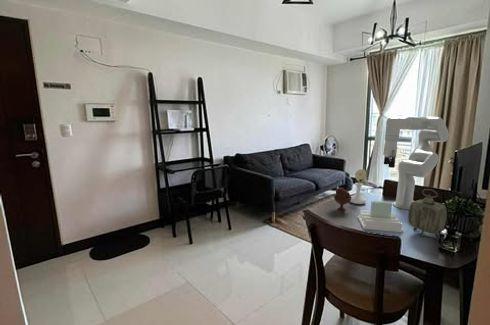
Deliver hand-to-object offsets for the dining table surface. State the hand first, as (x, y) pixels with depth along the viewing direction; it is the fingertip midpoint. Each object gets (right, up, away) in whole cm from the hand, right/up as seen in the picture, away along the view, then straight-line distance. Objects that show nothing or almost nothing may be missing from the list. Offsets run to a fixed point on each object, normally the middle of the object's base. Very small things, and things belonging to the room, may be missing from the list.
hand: (388, 165), depth 162 cm
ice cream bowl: (-26, -29, +10) cm, 40 cm away
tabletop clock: (+4, -36, -25) cm, 44 cm away
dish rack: (-12, -33, -12) cm, 38 cm away
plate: (-12, -32, -13) cm, 36 cm away
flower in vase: (-10, -27, +22) cm, 36 cm away
